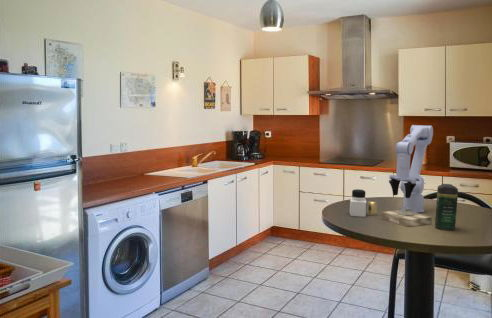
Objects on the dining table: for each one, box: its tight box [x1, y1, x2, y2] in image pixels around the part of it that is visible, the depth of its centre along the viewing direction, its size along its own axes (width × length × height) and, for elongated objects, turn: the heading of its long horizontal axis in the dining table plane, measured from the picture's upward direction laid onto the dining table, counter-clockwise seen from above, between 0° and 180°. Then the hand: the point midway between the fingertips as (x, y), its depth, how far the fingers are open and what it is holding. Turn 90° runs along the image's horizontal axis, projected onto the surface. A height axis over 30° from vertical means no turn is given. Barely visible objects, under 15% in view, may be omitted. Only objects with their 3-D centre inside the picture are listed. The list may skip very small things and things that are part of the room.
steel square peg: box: [398, 206, 413, 216], centre depth 197 cm, size 4×4×6 cm
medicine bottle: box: [349, 188, 368, 218], centre depth 207 cm, size 7×7×12 cm
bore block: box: [380, 209, 433, 228], centre depth 197 cm, size 14×16×3 cm
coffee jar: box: [434, 183, 459, 231], centre depth 186 cm, size 10×8×19 cm
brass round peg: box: [367, 200, 378, 216], centre depth 209 cm, size 4×4×6 cm
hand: (401, 196), depth 206 cm, fingers open, 7 cm apart
